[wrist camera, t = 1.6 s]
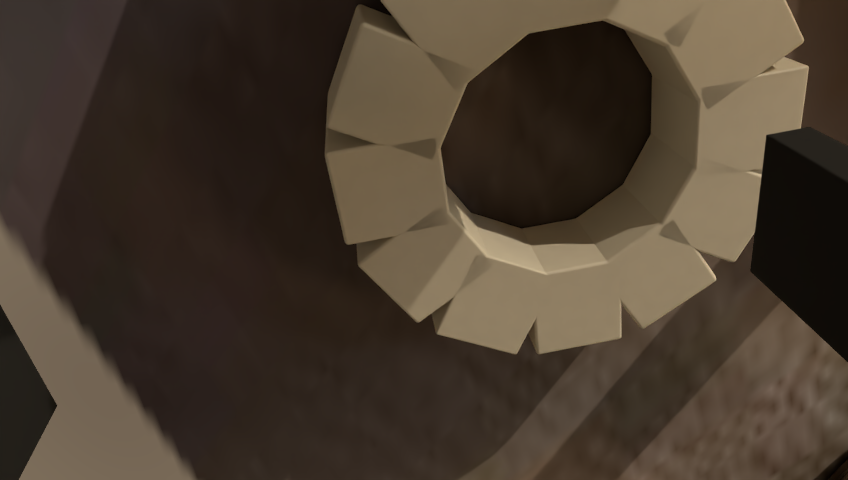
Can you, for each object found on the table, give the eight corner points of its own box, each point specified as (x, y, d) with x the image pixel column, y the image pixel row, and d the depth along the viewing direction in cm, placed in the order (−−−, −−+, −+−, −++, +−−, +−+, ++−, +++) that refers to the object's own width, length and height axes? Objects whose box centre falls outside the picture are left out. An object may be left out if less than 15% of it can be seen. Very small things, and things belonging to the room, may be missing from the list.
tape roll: (728, 263, 21) (777, 309, 18) (373, 330, 20) (378, 386, 18) (765, -152, 15) (839, -158, 13) (282, -69, 15) (272, -62, 13)
